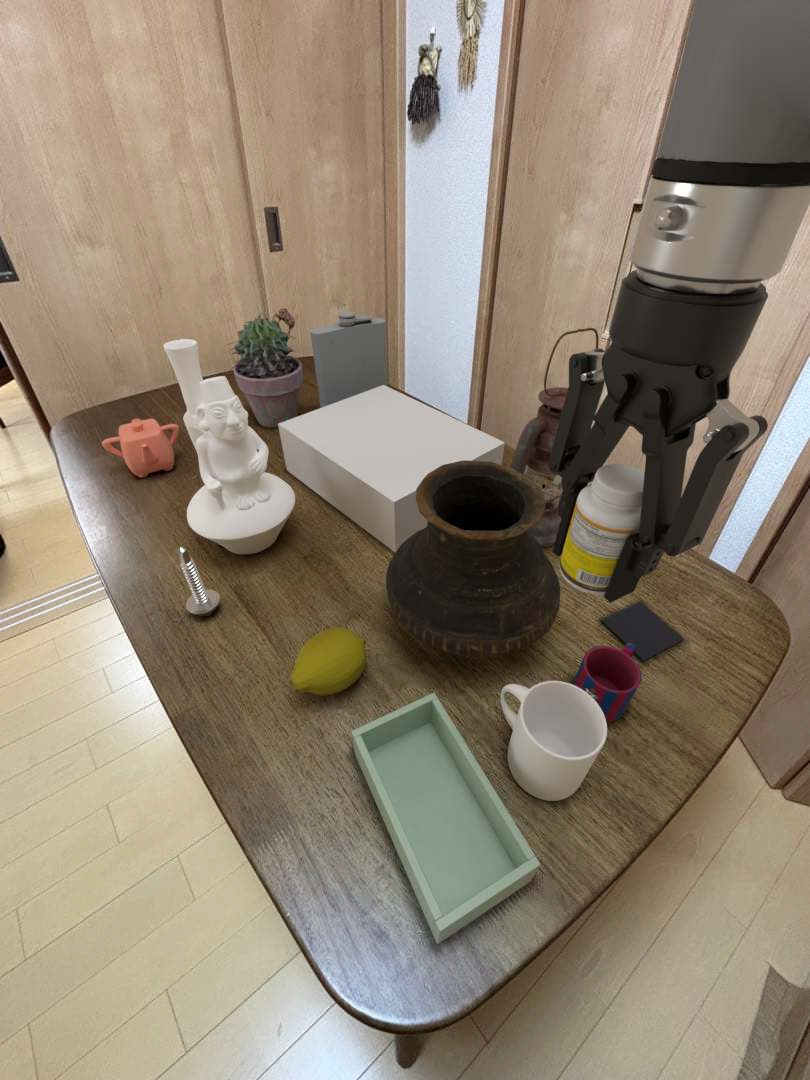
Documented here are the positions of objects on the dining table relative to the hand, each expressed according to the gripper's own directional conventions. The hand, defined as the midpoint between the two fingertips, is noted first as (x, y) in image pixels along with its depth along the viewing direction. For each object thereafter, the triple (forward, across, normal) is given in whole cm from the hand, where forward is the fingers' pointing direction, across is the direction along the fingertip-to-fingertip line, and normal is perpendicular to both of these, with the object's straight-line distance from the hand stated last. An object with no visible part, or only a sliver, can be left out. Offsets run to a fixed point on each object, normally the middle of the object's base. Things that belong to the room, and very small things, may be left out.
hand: (591, 570), depth 42 cm
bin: (+27, +3, -16) cm, 31 cm away
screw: (+27, -38, -33) cm, 57 cm away
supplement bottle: (+1, 0, 0) cm, 1 cm away
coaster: (+27, -4, +23) cm, 35 cm away
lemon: (+27, -18, -20) cm, 38 cm away
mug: (+27, +3, -3) cm, 27 cm away
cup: (+27, +1, +11) cm, 29 cm away
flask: (+27, -84, +12) cm, 89 cm away
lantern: (+27, -30, +24) cm, 47 cm away
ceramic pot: (+27, -18, +2) cm, 33 cm away
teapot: (+27, -85, -35) cm, 96 cm away
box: (+27, -56, +8) cm, 63 cm away
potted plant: (+27, -94, -6) cm, 97 cm away
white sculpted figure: (+27, -54, -22) cm, 64 cm away
